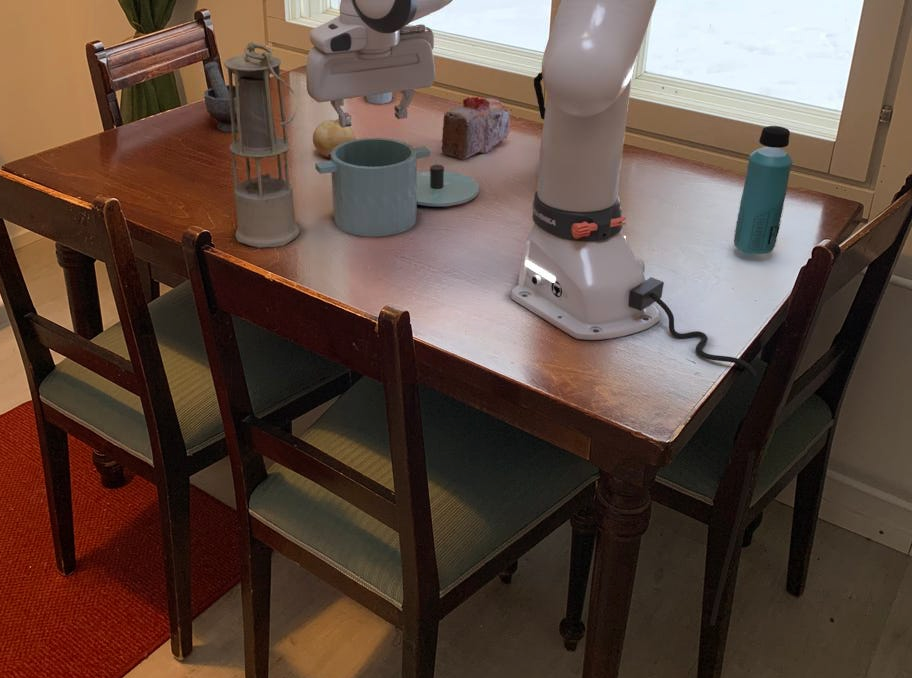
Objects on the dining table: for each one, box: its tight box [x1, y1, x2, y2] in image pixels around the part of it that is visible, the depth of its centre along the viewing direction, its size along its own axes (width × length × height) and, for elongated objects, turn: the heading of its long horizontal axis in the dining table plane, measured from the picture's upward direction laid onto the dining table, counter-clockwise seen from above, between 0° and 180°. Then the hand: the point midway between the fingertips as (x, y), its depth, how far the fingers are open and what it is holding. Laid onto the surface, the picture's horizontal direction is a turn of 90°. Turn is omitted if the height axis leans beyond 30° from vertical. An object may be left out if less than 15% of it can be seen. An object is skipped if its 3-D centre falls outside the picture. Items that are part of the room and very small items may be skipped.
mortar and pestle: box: [203, 61, 242, 132], centre depth 201 cm, size 11×9×12 cm
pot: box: [314, 137, 432, 238], centre depth 164 cm, size 14×19×12 cm
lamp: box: [223, 41, 301, 249], centre depth 153 cm, size 10×13×30 cm
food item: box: [440, 96, 511, 161], centre depth 192 cm, size 14×8×10 cm, turn 142°
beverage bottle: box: [733, 125, 793, 255], centre depth 151 cm, size 6×7×20 cm
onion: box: [312, 118, 356, 159], centre depth 190 cm, size 8×8×7 cm
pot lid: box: [417, 164, 480, 207], centre depth 175 cm, size 15×15×5 cm
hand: (373, 121), depth 158 cm, fingers open, 8 cm apart
